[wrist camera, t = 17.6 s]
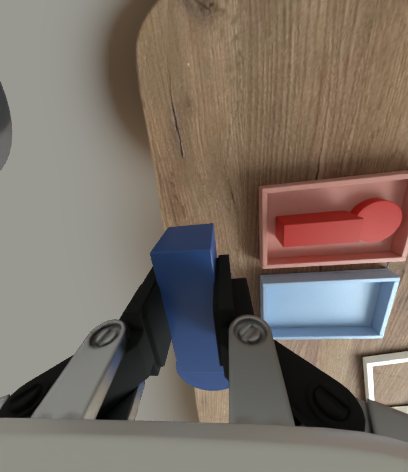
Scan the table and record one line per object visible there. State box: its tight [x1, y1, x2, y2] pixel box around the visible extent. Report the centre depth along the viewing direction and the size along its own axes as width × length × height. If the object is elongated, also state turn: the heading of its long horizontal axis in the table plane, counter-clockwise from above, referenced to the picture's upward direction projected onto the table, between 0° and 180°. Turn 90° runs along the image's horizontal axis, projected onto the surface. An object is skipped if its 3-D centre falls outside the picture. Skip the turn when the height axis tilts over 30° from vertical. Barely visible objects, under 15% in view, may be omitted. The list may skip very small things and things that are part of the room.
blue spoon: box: [150, 223, 229, 391], centre depth 11 cm, size 12×4×3 cm, turn 7°
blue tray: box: [260, 268, 400, 340], centre depth 24 cm, size 9×14×2 cm, turn 97°
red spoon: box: [275, 198, 402, 247], centre depth 19 cm, size 12×4×3 cm, turn 97°
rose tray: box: [259, 170, 408, 269], centre depth 20 cm, size 9×14×2 cm, turn 97°
